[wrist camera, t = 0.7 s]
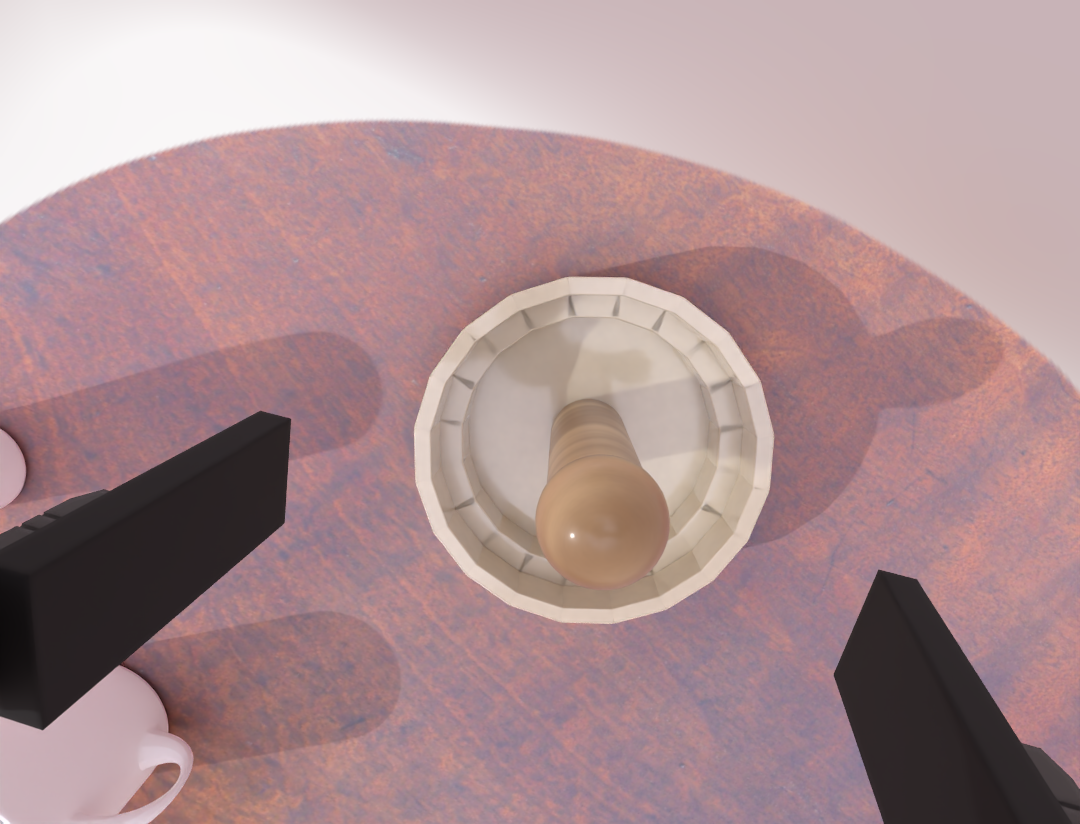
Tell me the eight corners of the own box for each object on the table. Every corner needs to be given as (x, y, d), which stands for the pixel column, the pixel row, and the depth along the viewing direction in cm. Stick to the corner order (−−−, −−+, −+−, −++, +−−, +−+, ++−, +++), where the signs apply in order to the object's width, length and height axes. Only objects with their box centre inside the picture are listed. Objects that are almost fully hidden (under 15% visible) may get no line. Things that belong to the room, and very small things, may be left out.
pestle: (528, 424, 36) (502, 529, 21) (599, 376, 35) (626, 447, 20) (577, 492, 36) (586, 641, 21) (647, 445, 36) (709, 565, 21)
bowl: (375, 395, 36) (342, 415, 31) (629, 212, 34) (642, 199, 28) (550, 627, 38) (548, 683, 33) (799, 469, 36) (840, 502, 31)
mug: (233, 786, 41) (121, 958, 31) (44, 775, 42) (-131, 943, 31) (225, 660, 40) (103, 798, 29) (28, 650, 40) (-162, 783, 29)
